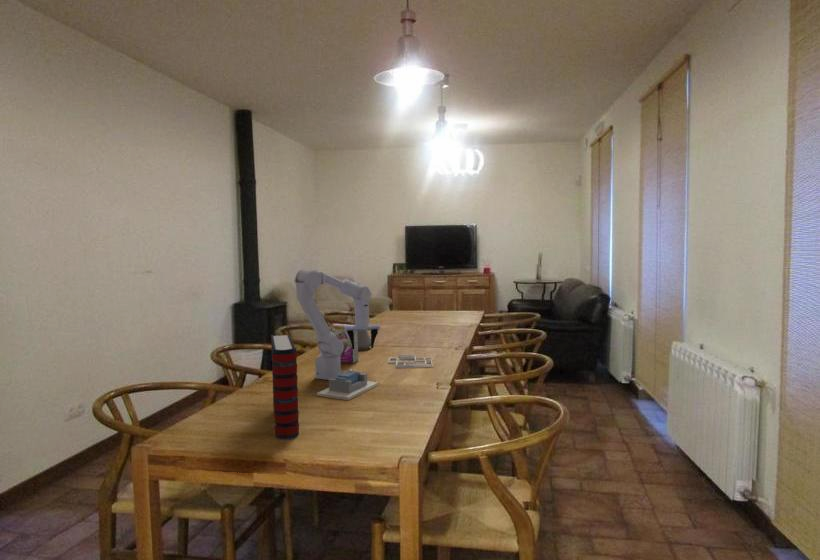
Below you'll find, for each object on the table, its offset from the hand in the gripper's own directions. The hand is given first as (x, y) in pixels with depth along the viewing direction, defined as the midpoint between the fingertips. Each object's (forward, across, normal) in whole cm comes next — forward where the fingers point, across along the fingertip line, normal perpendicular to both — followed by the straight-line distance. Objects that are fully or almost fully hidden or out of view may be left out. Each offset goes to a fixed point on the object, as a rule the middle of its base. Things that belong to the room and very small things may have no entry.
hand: (362, 348), depth 217 cm
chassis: (+9, -8, -26) cm, 29 cm away
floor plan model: (+10, +19, +10) cm, 23 cm away
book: (+10, -29, -57) cm, 65 cm away
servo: (+8, -8, -27) cm, 29 cm away
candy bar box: (+10, -6, +18) cm, 22 cm away
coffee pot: (+10, +2, +40) cm, 41 cm away
